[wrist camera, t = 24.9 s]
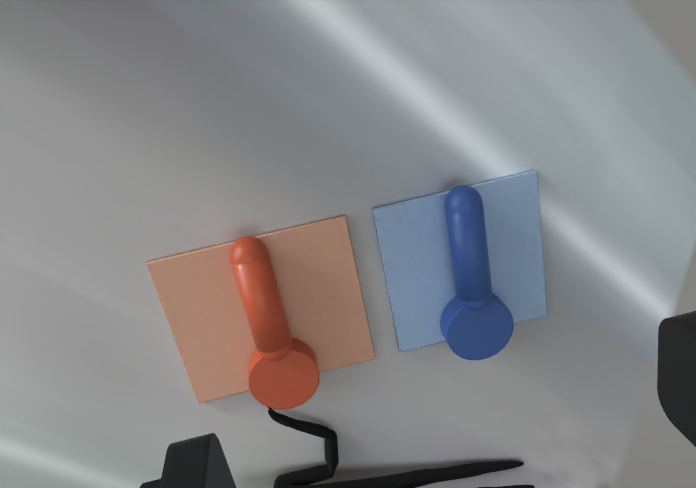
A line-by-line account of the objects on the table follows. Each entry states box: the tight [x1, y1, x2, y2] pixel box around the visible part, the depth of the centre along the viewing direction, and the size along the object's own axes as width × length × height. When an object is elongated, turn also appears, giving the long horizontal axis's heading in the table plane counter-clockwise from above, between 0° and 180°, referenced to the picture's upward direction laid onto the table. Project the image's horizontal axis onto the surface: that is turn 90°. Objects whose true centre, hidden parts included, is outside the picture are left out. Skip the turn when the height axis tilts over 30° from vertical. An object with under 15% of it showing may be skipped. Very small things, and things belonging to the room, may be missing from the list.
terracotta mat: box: [146, 215, 375, 403], centre depth 42 cm, size 12×14×1 cm
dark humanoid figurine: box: [268, 407, 535, 488], centre depth 46 cm, size 8×9×25 cm
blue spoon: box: [440, 185, 514, 360], centre depth 42 cm, size 14×5×3 cm, turn 11°
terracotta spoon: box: [229, 236, 319, 409], centre depth 41 cm, size 14×5×3 cm, turn 11°
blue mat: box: [373, 170, 547, 352], centre depth 43 cm, size 12×12×1 cm
